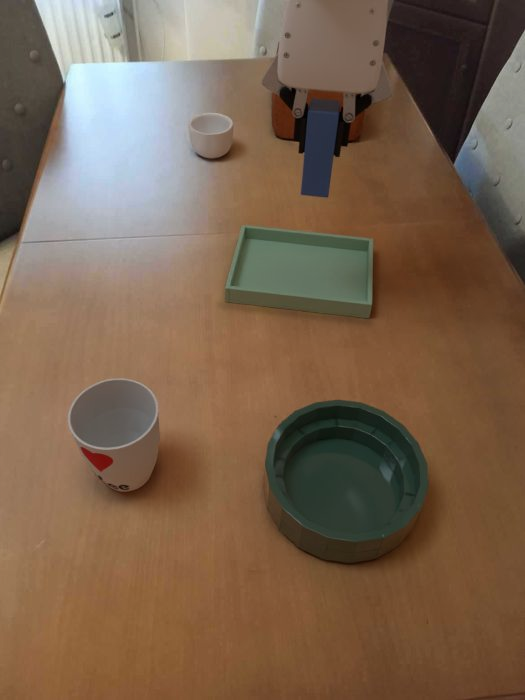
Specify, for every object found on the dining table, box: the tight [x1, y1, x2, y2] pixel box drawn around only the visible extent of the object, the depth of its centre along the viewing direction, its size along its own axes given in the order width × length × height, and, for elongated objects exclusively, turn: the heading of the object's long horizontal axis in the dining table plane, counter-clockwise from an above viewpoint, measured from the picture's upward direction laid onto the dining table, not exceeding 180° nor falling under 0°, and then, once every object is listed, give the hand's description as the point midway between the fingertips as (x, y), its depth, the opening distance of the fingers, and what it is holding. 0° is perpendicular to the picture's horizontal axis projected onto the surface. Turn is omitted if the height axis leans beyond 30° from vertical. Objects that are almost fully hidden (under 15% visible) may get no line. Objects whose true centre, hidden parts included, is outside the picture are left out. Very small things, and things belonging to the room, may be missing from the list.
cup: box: [67, 377, 161, 493], centre depth 58 cm, size 8×8×10 cm
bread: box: [271, 42, 366, 141], centre depth 112 cm, size 17×24×15 cm
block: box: [300, 98, 340, 199], centre depth 66 cm, size 3×3×10 cm
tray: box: [224, 224, 374, 319], centre depth 83 cm, size 19×14×2 cm
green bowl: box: [262, 399, 430, 564], centre depth 59 cm, size 16×16×5 cm
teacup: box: [187, 112, 234, 159], centre depth 105 cm, size 10×8×5 cm
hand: (319, 147), depth 66 cm, fingers closed on block, 3 cm apart
